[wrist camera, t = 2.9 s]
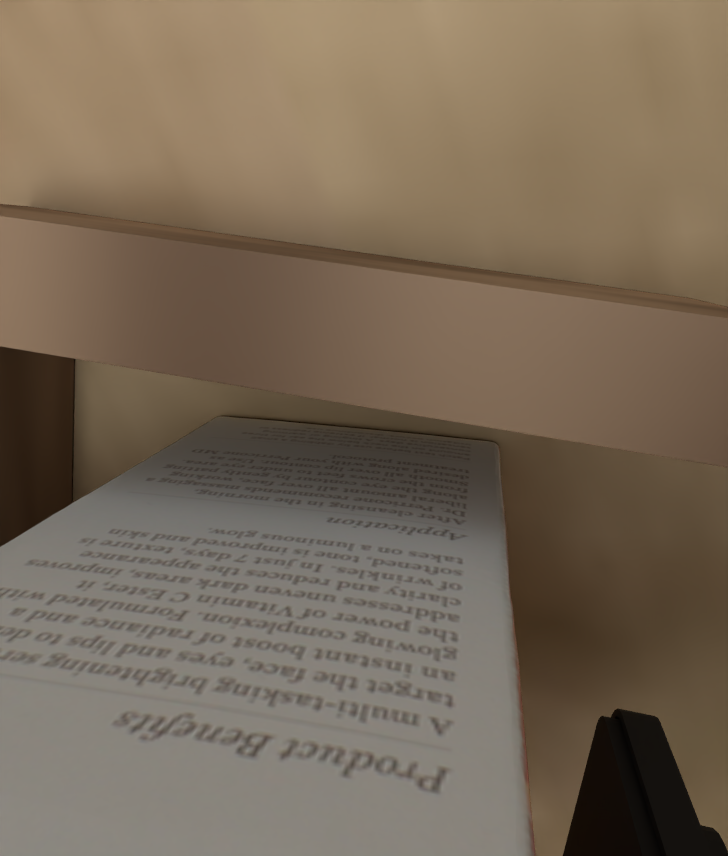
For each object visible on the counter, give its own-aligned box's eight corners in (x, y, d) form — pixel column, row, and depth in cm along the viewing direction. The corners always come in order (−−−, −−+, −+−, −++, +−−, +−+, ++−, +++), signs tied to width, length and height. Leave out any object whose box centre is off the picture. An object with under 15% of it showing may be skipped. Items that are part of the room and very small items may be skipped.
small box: (467, 796, 15) (435, 1972, 5) (214, 754, 16) (-275, 1682, 6) (508, 432, 13) (605, 1143, 3) (214, 405, 13) (-578, 870, 3)
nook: (690, 298, 12) (837, 334, 7) (529, 938, 15) (549, 1250, 11) (27, 206, 13) (-237, 182, 8) (28, 809, 17) (-153, 1032, 12)
